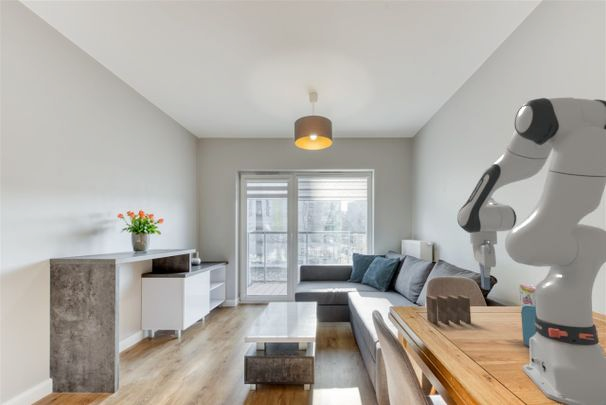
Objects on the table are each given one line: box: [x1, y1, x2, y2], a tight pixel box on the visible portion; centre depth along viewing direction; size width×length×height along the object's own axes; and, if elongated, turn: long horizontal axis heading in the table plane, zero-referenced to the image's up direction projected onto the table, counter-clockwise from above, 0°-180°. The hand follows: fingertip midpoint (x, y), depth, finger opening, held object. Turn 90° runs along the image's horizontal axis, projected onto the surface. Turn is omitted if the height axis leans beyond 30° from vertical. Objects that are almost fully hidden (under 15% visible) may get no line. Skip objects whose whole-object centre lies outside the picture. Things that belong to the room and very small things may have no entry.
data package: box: [520, 306, 537, 348], centre depth 96 cm, size 12×4×12 cm, turn 52°
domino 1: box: [425, 295, 439, 325], centre depth 122 cm, size 2×5×10 cm, turn 2°
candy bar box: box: [519, 284, 537, 311], centre depth 108 cm, size 11×5×16 cm, turn 168°
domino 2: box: [436, 295, 450, 325], centre depth 123 cm, size 2×5×10 cm, turn 2°
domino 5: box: [479, 264, 491, 291], centre depth 114 cm, size 2×5×10 cm, turn 159°
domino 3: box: [447, 294, 461, 325], centre depth 123 cm, size 2×5×10 cm, turn 2°
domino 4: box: [457, 294, 472, 324], centre depth 123 cm, size 2×5×10 cm, turn 2°
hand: (485, 275), depth 114 cm, fingers closed on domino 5, 5 cm apart
